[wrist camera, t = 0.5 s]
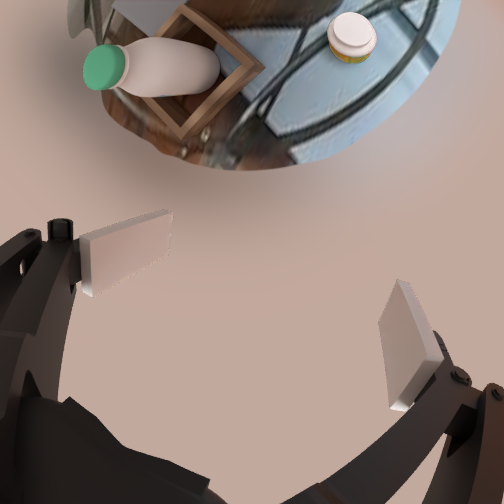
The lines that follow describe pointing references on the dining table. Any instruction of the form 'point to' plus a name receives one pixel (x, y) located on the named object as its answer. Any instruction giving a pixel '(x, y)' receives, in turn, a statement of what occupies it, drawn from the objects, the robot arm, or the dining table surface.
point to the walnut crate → (222, 94)
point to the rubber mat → (147, 12)
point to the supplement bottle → (351, 37)
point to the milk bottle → (152, 67)
